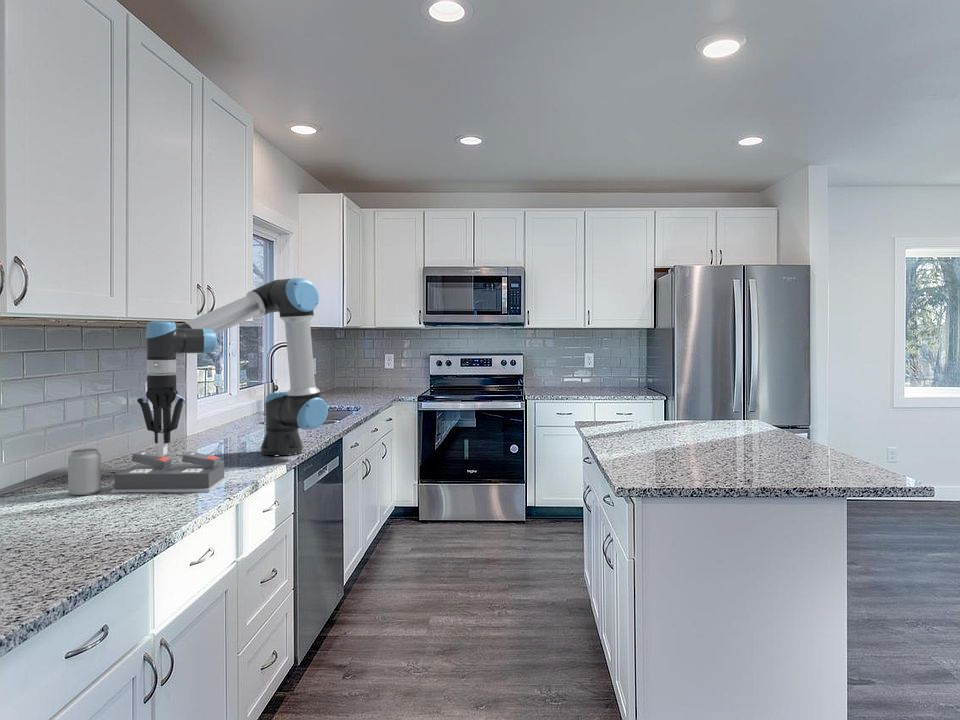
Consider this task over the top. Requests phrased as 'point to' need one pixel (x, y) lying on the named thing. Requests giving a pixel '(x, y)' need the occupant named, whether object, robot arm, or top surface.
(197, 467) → the power strip
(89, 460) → the can
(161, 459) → the rocker
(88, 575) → the top surface
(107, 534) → the top surface
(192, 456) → the block
